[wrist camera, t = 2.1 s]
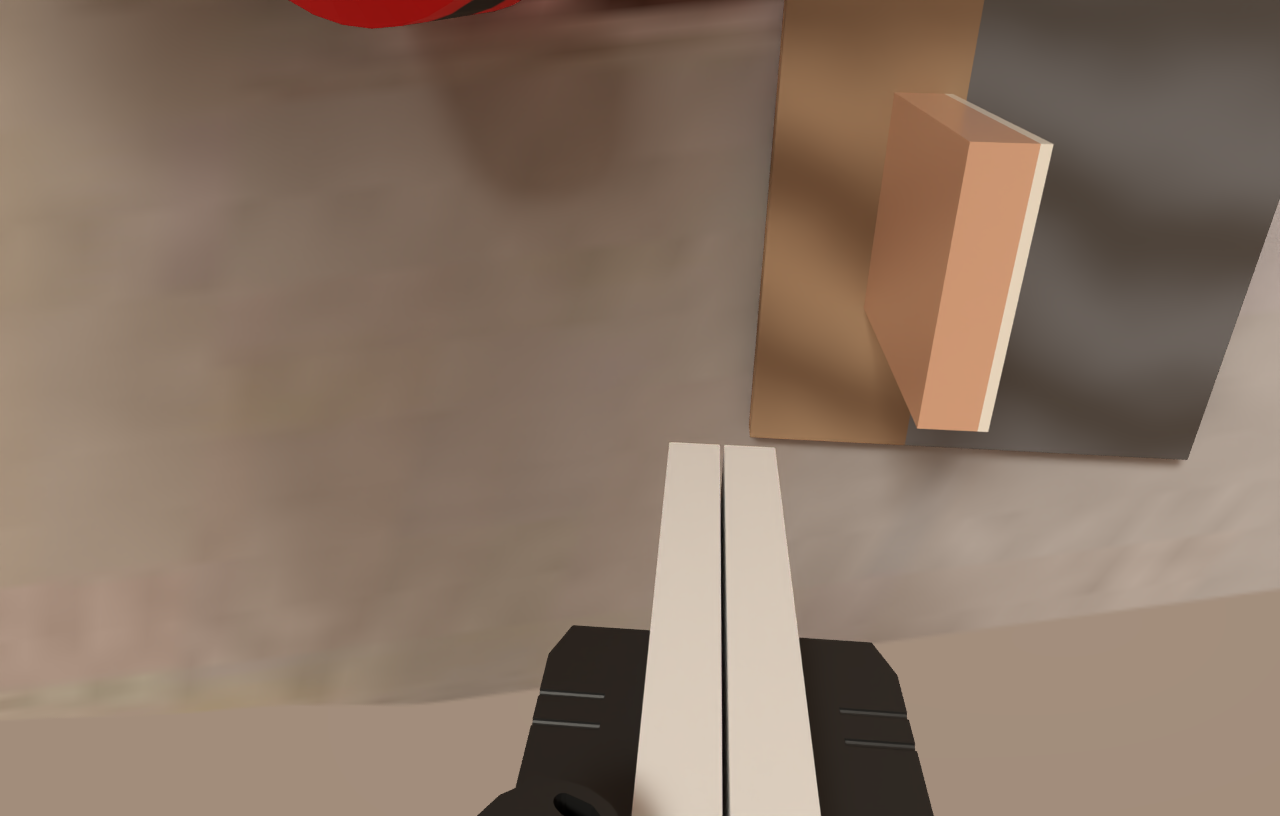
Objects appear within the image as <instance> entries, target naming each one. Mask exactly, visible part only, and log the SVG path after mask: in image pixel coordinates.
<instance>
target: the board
mask: <svg viewBox="0 0 1280 816" xmlns="http://www.w3.org/2000/svg"><path fill="white" fill-rule="evenodd" d="M895 92H897V93H935V94H954V95H956V96H958V97H960V98H962V99H964V100H966V101H968V102H970V103H972V104H974V105H976V106H978V107H980V108H982V109H984V110H986V111H988V112H990V113H992V114H994V115H996V116H998V117H1000V118H1002V119H1004V120H1006V121H1008V122H1010V123H1012V124H1014V125H1016V126H1018V127H1020V128H1022V129H1024V130H1026V131H1028V132H1030V133H1032V134H1034V135H1036V136H1038V137H1040V138H1042V139H1044V140H1046V141H1048V142H1050V143H1052V144H1054V145H1053V149H1052V154H1051V158H1050V162H1049V167H1048V171H1047V176H1046V180H1045V184H1044V189H1043V193H1042V197H1041V202H1040V206H1039V211H1038V215H1037V219H1036V224H1035V228H1034V233H1033V237H1032V241H1031V246H1030V250H1029V255H1028V259H1027V263H1026V268H1025V272H1024V277H1023V281H1022V285H1021V290H1020V294H1019V299H1018V303H1017V307H1016V312H1015V316H1014V321H1013V325H1012V329H1011V334H1010V338H1009V343H1008V347H1007V351H1006V356H1005V360H1004V365H1003V369H1002V373H1001V378H1000V382H999V387H998V391H997V395H996V400H995V404H994V408H993V413H992V417H991V422H990V426H989V430H988V432H978V431H958V430H938V429H919V428H917V427H916V425H915V422H914V420H913V418H912V416H911V413H910V411H909V409H908V407H907V404H906V402H905V400H904V398H903V395H902V393H901V391H900V389H899V386H898V384H897V382H896V380H895V377H894V375H893V373H892V371H891V368H890V366H889V364H888V362H887V359H886V357H885V355H884V353H883V350H882V348H881V346H880V344H879V341H878V339H877V337H876V335H875V332H874V330H873V328H872V326H871V323H870V321H869V319H868V317H867V314H866V312H865V310H864V304H865V297H866V290H867V283H868V276H869V269H870V262H871V254H872V247H873V240H874V233H875V226H876V219H877V212H878V205H879V198H880V191H881V184H882V177H883V170H884V163H885V156H886V149H887V142H888V135H889V128H890V121H891V114H892V107H893V100H894V93H895ZM1279 199H1280V0H784V10H783V22H782V34H781V46H780V58H779V70H778V83H777V95H776V107H775V119H774V131H773V143H772V155H771V167H770V179H769V191H768V203H767V215H766V227H765V239H764V251H763V263H762V275H761V287H760V299H759V311H758V323H757V335H756V347H755V359H754V371H753V383H752V395H751V407H750V419H749V430H750V437H757V438H777V439H796V440H815V441H834V442H854V443H873V444H892V445H912V446H931V447H950V448H970V449H989V450H1008V451H1027V452H1047V453H1066V454H1085V455H1105V456H1124V457H1143V458H1162V459H1182V460H1188V457H1189V454H1190V451H1191V448H1192V445H1193V443H1194V440H1195V437H1196V434H1197V431H1198V428H1199V426H1200V423H1201V420H1202V417H1203V414H1204V411H1205V409H1206V406H1207V403H1208V400H1209V397H1210V394H1211V392H1212V389H1213V386H1214V383H1215V380H1216V377H1217V375H1218V372H1219V369H1220V366H1221V363H1222V361H1223V358H1224V355H1225V352H1226V349H1227V346H1228V344H1229V341H1230V338H1231V335H1232V332H1233V329H1234V327H1235V324H1236V321H1237V318H1238V315H1239V312H1240V310H1241V307H1242V304H1243V301H1244V298H1245V295H1246V293H1247V290H1248V287H1249V284H1250V281H1251V278H1252V276H1253V273H1254V270H1255V267H1256V264H1257V261H1258V259H1259V256H1260V253H1261V250H1262V247H1263V244H1264V242H1265V239H1266V236H1267V233H1268V230H1269V227H1270V225H1271V222H1272V219H1273V216H1274V213H1275V211H1276V208H1277V205H1278V202H1279Z"/></svg>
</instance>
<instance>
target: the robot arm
mask: <svg viewBox="0 0 1280 816" xmlns="http://www.w3.org/2000/svg"><path fill="white" fill-rule="evenodd" d="M477 816H934V815H933V811H932V808H931V804H930V800H929V796H928V793H927V789H926V784H925V781H924V777H923V773H922V769H921V765H920V761H919V757H918V753H917V751H915V742H914V738H913V734H912V730H911V726H910V723H909V720H907V711H906V707H905V703H904V699H903V696H902V692H901V688H900V684H899V680H898V677H897V674H896V673H895V672H894V671H893V669H892V668H891V667H890V666H889V664H888V663H887V662H886V660H885V659H884V658H883V657H882V655H881V654H880V653H879V652H878V650H877V649H876V648H875V646H874V645H873V644H872V643H869V642H854V641H839V640H824V639H809V638H799V636H798V628H797V620H796V612H795V604H794V596H793V588H792V580H791V572H790V564H789V556H788V548H787V540H786V532H785V523H784V515H783V507H782V499H781V491H780V483H779V475H778V467H777V459H776V451H775V448H774V447H755V446H736V445H724V455H723V470H722V484H721V499H720V445H717V444H698V443H679V442H669V451H668V461H667V471H666V480H665V490H664V500H663V510H662V520H661V530H660V540H659V550H658V559H657V569H656V579H655V589H654V599H653V609H652V619H651V629H650V630H635V629H620V628H605V627H590V626H575V625H573V626H572V627H571V628H570V629H569V630H568V632H567V633H566V634H565V635H564V636H563V638H562V639H561V640H560V641H559V642H558V644H557V645H556V646H555V647H554V648H553V649H552V651H551V652H550V653H549V655H548V659H547V663H546V667H545V671H544V675H543V679H542V683H541V687H540V695H539V696H538V699H537V704H536V707H535V712H534V716H533V723H532V725H531V728H530V732H529V736H528V740H527V744H526V748H525V752H524V756H523V760H522V764H521V768H520V772H519V776H518V780H517V784H516V788H514V789H512V790H510V791H508V792H506V793H503V794H501V795H499V796H498V797H497V798H496V799H495V800H494V801H493V802H492V803H490V805H488V806H487V807H486V808H485V809H484V810H483V811H482V812H481V813H480V814H479V815H477Z"/></svg>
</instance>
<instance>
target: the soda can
mask: <svg viewBox="0 0 1280 816" xmlns="http://www.w3.org/2000/svg"><path fill="white" fill-rule="evenodd" d="M289 1H291V2H293V3H294V4H296V5H298V6H300V7H301V8H303V9H305V10H306V11H308V12H310V13H312V14H313V15H316V16H319V17H322V18H325V19H327V20H330V21H333V22H336V23H339V24H342V25H348V26H356V27H363V28H371V29H373V28H384V27H395V26H404V25H410V24H416V23H423V22H429V21H435V20H442V19H448V18H454V17H461V16H467V15H473V14H480V13H486V12H493V11H496V10H499V9H503V8H506V7H509V6H512V5H514V4H516V3H518V2H519V1H521V0H289Z"/></svg>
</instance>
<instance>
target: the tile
mask: <svg viewBox="0 0 1280 816" xmlns="http://www.w3.org/2000/svg"><path fill="white" fill-rule="evenodd" d="M1053 145H1054V144H1052V143H1050V142H1048V141H1046V140H1044V139H1042V138H1040V137H1038V136H1036V135H1034V134H1032V133H1030V132H1028V131H1026V130H1024V129H1022V128H1020V127H1018V126H1016V125H1014V124H1012V123H1010V122H1008V121H1006V120H1004V119H1002V118H1000V117H998V116H996V115H994V114H992V113H990V112H988V111H986V110H984V109H982V108H980V107H978V106H976V105H974V104H972V103H970V102H968V101H966V100H964V99H962V98H960V97H958V96H956V95H954V94H935V93H897V92H895V93H894V100H893V107H892V114H891V121H890V128H889V135H888V142H887V149H886V156H885V163H884V170H883V177H882V184H881V191H880V198H879V205H878V212H877V219H876V226H875V233H874V240H873V247H872V254H871V262H870V269H869V276H868V283H867V290H866V297H865V304H864V310H865V312H866V314H867V317H868V319H869V321H870V323H871V326H872V328H873V330H874V332H875V335H876V337H877V339H878V341H879V344H880V346H881V348H882V350H883V353H884V355H885V357H886V359H887V362H888V364H889V366H890V368H891V371H892V373H893V375H894V377H895V380H896V382H897V384H898V386H899V389H900V391H901V393H902V395H903V398H904V400H905V402H906V404H907V407H908V409H909V411H910V413H911V416H912V418H913V420H914V422H915V425H916V427H917V428H919V429H938V430H958V431H978V432H988V430H989V426H990V422H991V417H992V413H993V408H994V404H995V400H996V395H997V391H998V387H999V382H1000V378H1001V373H1002V369H1003V365H1004V360H1005V356H1006V351H1007V347H1008V343H1009V338H1010V334H1011V329H1012V325H1013V321H1014V316H1015V312H1016V307H1017V303H1018V299H1019V294H1020V290H1021V285H1022V281H1023V277H1024V272H1025V268H1026V263H1027V259H1028V255H1029V250H1030V246H1031V241H1032V237H1033V233H1034V228H1035V224H1036V219H1037V215H1038V211H1039V206H1040V202H1041V197H1042V193H1043V189H1044V184H1045V180H1046V176H1047V171H1048V167H1049V162H1050V158H1051V154H1052V149H1053Z"/></svg>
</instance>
